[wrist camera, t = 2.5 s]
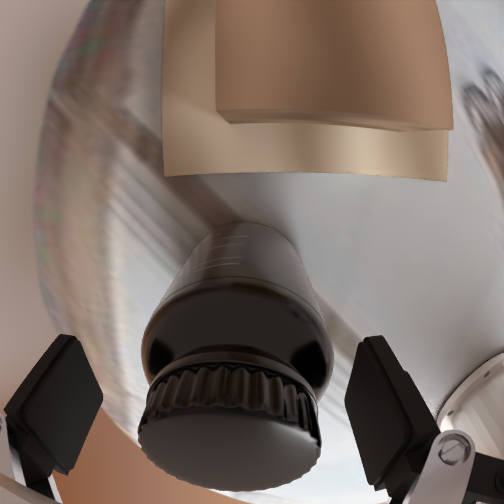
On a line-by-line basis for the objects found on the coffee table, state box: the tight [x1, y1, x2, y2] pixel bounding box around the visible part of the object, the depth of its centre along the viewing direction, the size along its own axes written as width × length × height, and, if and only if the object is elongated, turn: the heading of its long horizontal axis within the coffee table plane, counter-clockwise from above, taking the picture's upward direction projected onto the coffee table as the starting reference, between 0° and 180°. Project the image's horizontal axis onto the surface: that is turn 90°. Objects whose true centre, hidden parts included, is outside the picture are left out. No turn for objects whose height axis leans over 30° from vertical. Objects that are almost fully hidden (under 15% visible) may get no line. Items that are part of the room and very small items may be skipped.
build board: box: [161, 0, 448, 182], centre depth 12 cm, size 16×14×1 cm
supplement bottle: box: [138, 223, 334, 492], centre depth 12 cm, size 7×7×12 cm
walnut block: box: [215, 0, 453, 132], centre depth 9 cm, size 9×9×5 cm
